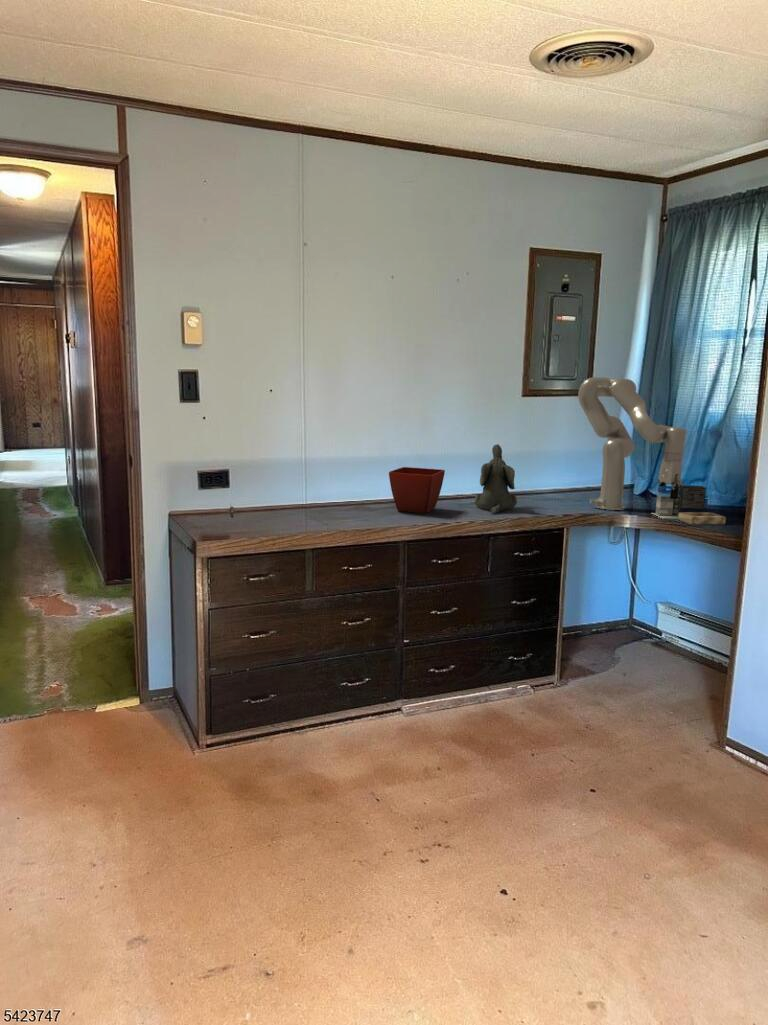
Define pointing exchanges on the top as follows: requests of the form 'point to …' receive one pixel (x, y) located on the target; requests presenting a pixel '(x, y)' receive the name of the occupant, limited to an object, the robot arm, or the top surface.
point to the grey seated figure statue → (496, 484)
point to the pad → (666, 516)
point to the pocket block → (701, 518)
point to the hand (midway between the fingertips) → (667, 496)
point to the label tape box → (667, 502)
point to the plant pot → (416, 488)
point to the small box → (692, 497)
